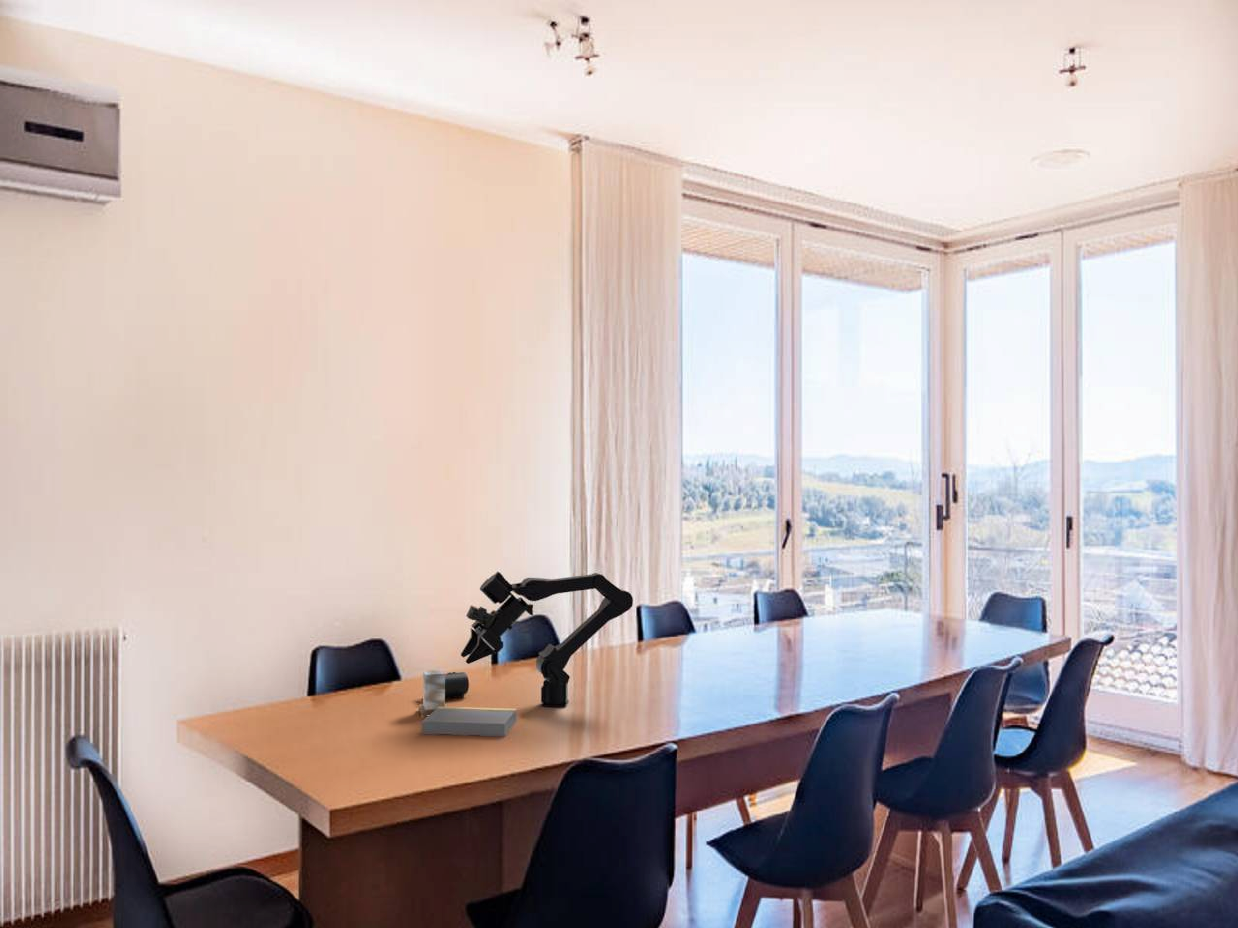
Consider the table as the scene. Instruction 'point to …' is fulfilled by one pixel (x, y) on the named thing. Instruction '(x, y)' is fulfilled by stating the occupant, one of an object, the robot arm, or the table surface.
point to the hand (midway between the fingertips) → (464, 659)
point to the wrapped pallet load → (433, 691)
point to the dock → (469, 721)
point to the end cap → (456, 684)
